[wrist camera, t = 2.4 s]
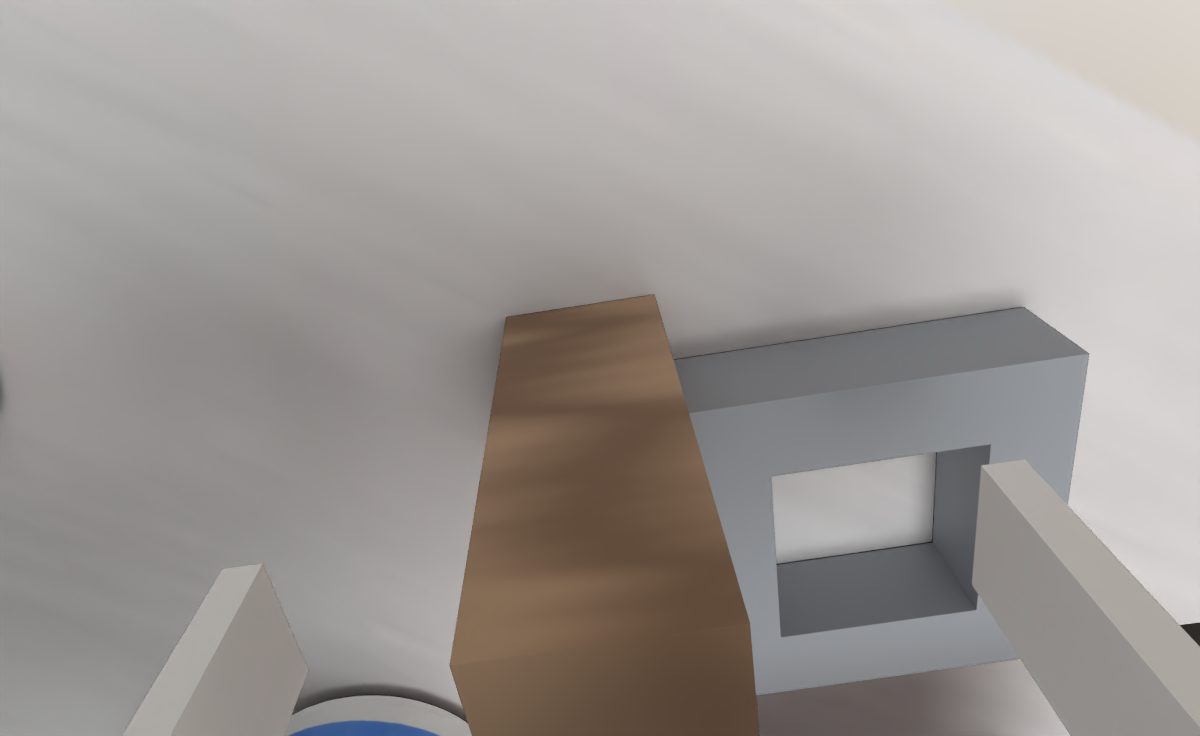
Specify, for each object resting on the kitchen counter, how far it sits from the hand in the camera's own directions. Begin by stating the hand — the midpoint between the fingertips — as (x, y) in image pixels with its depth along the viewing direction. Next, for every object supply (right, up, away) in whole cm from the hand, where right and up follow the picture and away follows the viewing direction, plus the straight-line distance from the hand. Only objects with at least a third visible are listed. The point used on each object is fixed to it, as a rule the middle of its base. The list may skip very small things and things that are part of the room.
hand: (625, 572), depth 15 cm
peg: (-1, +4, +7) cm, 8 cm away
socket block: (+7, 0, +9) cm, 12 cm away
